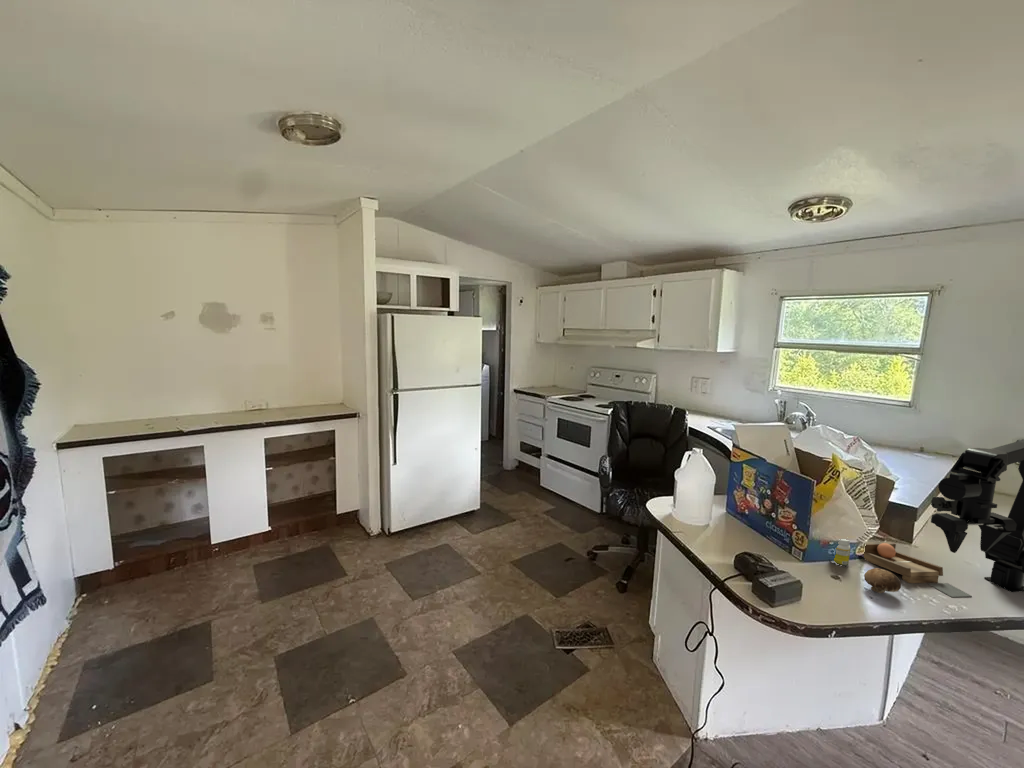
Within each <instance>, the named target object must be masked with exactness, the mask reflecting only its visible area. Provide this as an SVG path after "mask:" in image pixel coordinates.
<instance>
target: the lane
mask: <svg viewBox="0 0 1024 768" xmlns="http://www.w3.org/2000/svg"><path fill="white" fill-rule="evenodd" d="M865 542H866V546H865V552H864V558H865V559H866V560H865V559H864V560H865V561H866V562H868V563H871V564H874V565H876V566H879V567H881V568H883V569H885V570H888V571H890V572H891V571H892V572H894V573H897V574H900V575H901V577H902V578H901V579H902V580H903V581H904V582H906V583H908V584H926V583H927V584H931V583H939V577H942V576H943V577H944V571H943V570H944V568H943V566H940V565H937V564H934V563H931V562H927V561H926V560H922V559H919V558H916V557H913V556H911V555H907V554H904V553H902V552H898V551H896V554H895V556H894V557H893V558H884V557H882V556H881V555H880V554H879V553H878V551H877V547H878V545H879V544H882V543H887V544H890V545H891V546H893V547H894V549H895V550H896V547H897V544H896V543H895V542H893V541H871V542H869V541H868V542H867V541H865Z"/></svg>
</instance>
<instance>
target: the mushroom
mask: <svg viewBox="0 0 1024 768" xmlns="http://www.w3.org/2000/svg"><path fill="white" fill-rule="evenodd" d="M863 577H864V581H865V582H866V583H867V584H868V585H869V586H871V587H870V589H871V590H872V591H874V593H875V592H876V593H878V594H884V593H885V592H888V593H889V592H890V593H891V592H892V593H894V592H895V593H897V592H898V591H900V590H901V588H902V581H901V580H900V578H899V577H898V576H897V575H896V574H894V573H893V572H891V571H890V570H888V569H885V568H879V567H874V568H871V569H868V570H867V571H865V573H863Z"/></svg>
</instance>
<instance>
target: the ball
mask: <svg viewBox="0 0 1024 768" xmlns="http://www.w3.org/2000/svg"><path fill="white" fill-rule="evenodd" d="M877 551H878V553H879V554H880V555H881V556H882V557H884V558H893V557H894V556H895V554H896V552H897V551H896V548H895V549H894V547H893V546H891V545H890V544H887V543H882V544H879V545H878V547H877Z"/></svg>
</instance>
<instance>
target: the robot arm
mask: <svg viewBox="0 0 1024 768" xmlns="http://www.w3.org/2000/svg"><path fill="white" fill-rule="evenodd" d="M1016 463H1018V464H1019V465H1018V468H1017V469H1018V470H1017V471H1018V472H1019V475H1020V477H1021V479H1022V481H1021V484H1020V486H1019V488H1018V491H1017V494H1016V497H1014V498H1015V499H1014V501H1013V503H1012V505H1011V508H1010V511H1009V513H1008V515H1007V516H1004V515H1003V514H999V513H996V512H992V509H997V508H998V504H997V503H994V497H995V489H996V485H997V482H1001V478H1000V476H1001V475H1002V473H1004V472H1006V471H1007V470H1008V466H1010V465H1013V464H1016ZM937 487H938V490H939V492H940V494H941V495H942V496H932V499H931V500H930V501H931V502H930V505H931V507H932V508H933V509H936V513H934V514H932V515H931V518H930V523H931V524H933V525H934V526H935V527H938V528H940V530H941V531H942V532H943V533H944V536H945V538H946V543H947V545H948V549H949V551H950V552H952V553H954V554H956V553H957V552H958V550H959V549H960V547H961V545H962V543H963V542H964V540H965V538H966V537H967V535H968V532H966V531H967V530H968V528H969V526H978V528H979V529H980V543H979V545H980V547H979V548H980V551H981V552H983V553H984V555H985V556H984V558H985V559H987V560H991V561H993V565H992V568H991V572H990V573H991V574H990V576H985V577H983V579H984V580H986V581H988V582H990V583H992V584H993V583H994V585H995V584H996V585H995V586H998V587H1000V588H1002V589H1004V590H1006V591H1007V592H1010V591H1011V592H1013V593H1014V592H1015V593H1017V592H1019V591H1022V592H1024V438H1022V439H1020V438H1019V439H1017V440H1016V441H1014V442H1010V443H1008V444H1004V445H1000V446H997V447H993V448H983V447H982V448H981V447H969V448H967V449H965V450H964V451H963V452H962V453H961V454H960V456H959V457H958V459H957V460H956V462H955V463H954V465H953V466H952V468H951V469H950V473H949V477H944V478H943V479H942V480H940V481H939V483H938V486H937ZM944 497H945V498H946V499H945V498H944ZM938 512H939V513H938ZM940 512H941V513H940ZM942 512H945V513H942ZM946 512H950V513H946ZM957 516H958V517H957ZM1011 592H1010V593H1011Z"/></svg>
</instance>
